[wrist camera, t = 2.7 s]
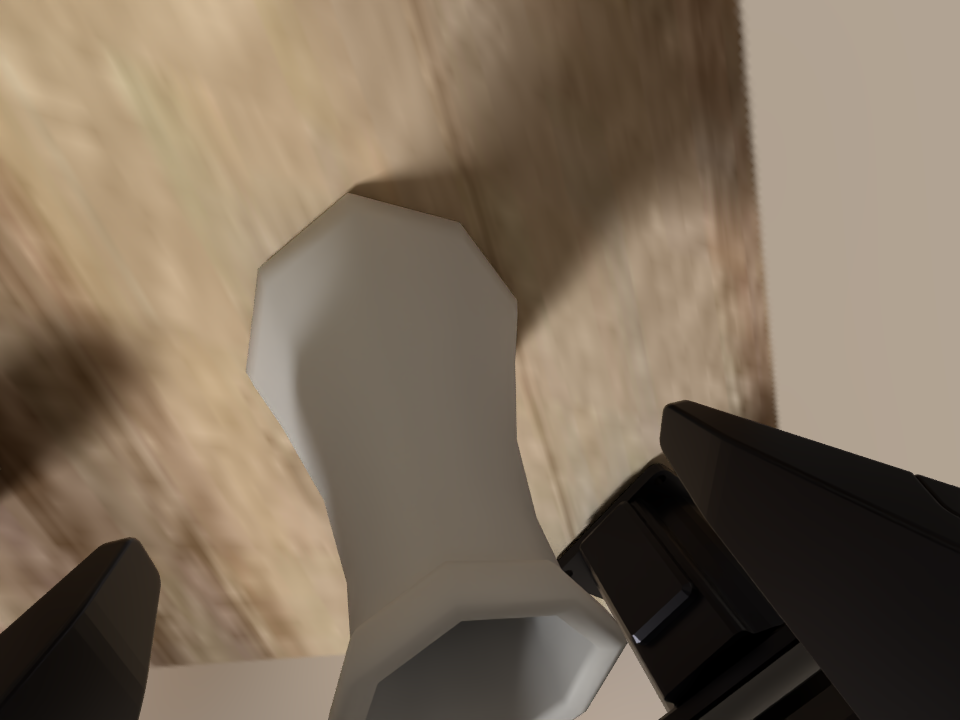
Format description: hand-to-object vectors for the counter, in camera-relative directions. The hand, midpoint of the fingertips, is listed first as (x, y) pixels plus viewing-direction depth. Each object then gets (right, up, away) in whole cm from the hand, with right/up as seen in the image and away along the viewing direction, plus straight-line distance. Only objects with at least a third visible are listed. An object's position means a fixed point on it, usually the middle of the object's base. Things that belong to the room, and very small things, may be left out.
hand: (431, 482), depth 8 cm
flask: (-2, +3, +6) cm, 7 cm away
